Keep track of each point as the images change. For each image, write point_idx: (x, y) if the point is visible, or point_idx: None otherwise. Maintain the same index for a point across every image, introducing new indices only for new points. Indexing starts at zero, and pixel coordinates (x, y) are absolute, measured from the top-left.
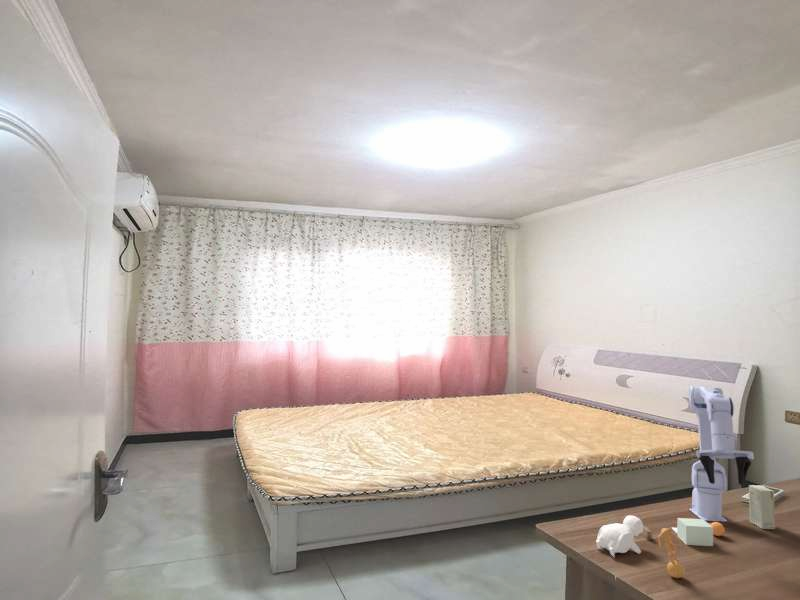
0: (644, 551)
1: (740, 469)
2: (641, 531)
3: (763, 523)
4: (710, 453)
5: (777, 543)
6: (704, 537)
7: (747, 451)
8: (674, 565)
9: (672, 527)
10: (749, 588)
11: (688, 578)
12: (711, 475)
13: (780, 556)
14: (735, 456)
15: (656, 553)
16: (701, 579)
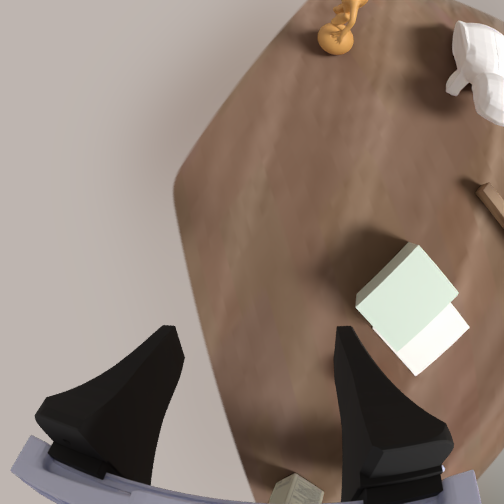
0: (448, 109)
1: (114, 372)
2: (474, 101)
3: (290, 481)
4: None
5: (253, 422)
6: (374, 282)
7: (24, 477)
8: (330, 23)
9: (466, 329)
10: (225, 127)
11: (319, 62)
12: (343, 368)
13: (229, 356)
14: (125, 490)
15: (428, 120)
16: (301, 80)
